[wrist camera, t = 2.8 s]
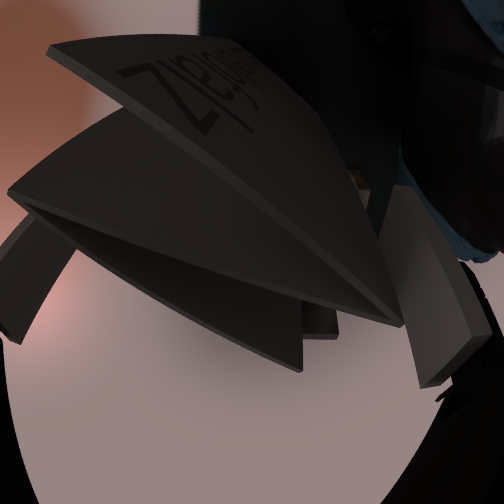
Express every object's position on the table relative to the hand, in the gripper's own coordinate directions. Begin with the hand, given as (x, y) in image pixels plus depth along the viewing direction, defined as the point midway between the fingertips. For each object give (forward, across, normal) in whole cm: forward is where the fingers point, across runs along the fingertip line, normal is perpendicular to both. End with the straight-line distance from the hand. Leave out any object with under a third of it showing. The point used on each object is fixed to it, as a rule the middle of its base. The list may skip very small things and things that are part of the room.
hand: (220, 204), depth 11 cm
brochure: (+27, 0, 0) cm, 27 cm away
